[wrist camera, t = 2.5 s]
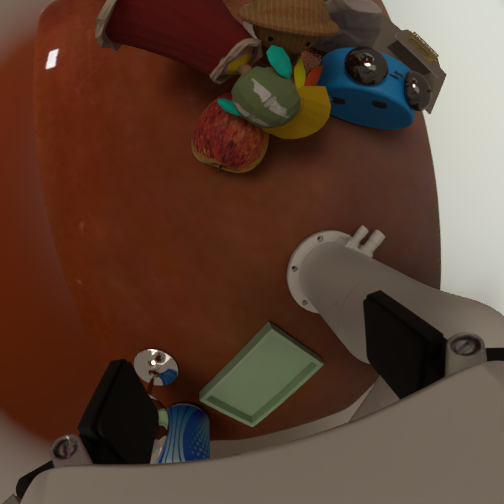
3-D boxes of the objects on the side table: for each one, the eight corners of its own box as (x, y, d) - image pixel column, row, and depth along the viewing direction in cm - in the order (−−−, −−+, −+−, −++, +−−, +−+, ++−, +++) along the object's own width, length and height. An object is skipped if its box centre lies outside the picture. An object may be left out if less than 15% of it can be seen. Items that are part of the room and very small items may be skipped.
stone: (357, 60, 35) (409, 20, 20) (352, 74, 35) (406, 37, 21) (294, 29, 33) (327, -26, 18) (288, 44, 33) (319, -12, 19)
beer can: (157, 401, 44) (143, 470, 28) (202, 397, 44) (201, 469, 29) (172, 431, 46) (165, 496, 30) (214, 427, 46) (216, 494, 31)
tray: (268, 320, 42) (271, 328, 40) (319, 356, 45) (324, 364, 43) (199, 391, 44) (199, 400, 42) (251, 418, 47) (252, 427, 44)
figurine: (228, 98, 35) (239, 21, 15) (230, 54, 33) (242, -36, 14) (293, 103, 36) (357, 40, 16) (293, 59, 34) (347, -18, 15)
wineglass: (148, 389, 43) (125, 480, 24) (124, 355, 41) (84, 444, 22) (187, 378, 43) (178, 475, 24) (164, 341, 41) (138, 437, 22)
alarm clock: (384, 102, 37) (445, 77, 22) (379, 136, 38) (444, 121, 24) (307, 72, 35) (350, 25, 20) (300, 108, 36) (343, 70, 21)
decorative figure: (68, -62, 6) (360, 146, 18) (170, -73, 13) (369, 78, 25) (39, 39, 16) (252, 203, 28) (127, -1, 23) (292, 127, 35)
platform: (376, 10, 32) (394, -6, 26) (446, 74, 36) (468, 67, 30) (351, 44, 34) (370, 28, 28) (429, 114, 38) (454, 109, 32)
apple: (287, 96, 28) (257, 178, 28) (275, 123, 37) (251, 189, 37) (208, 72, 27) (173, 151, 28) (213, 103, 36) (187, 167, 36)
